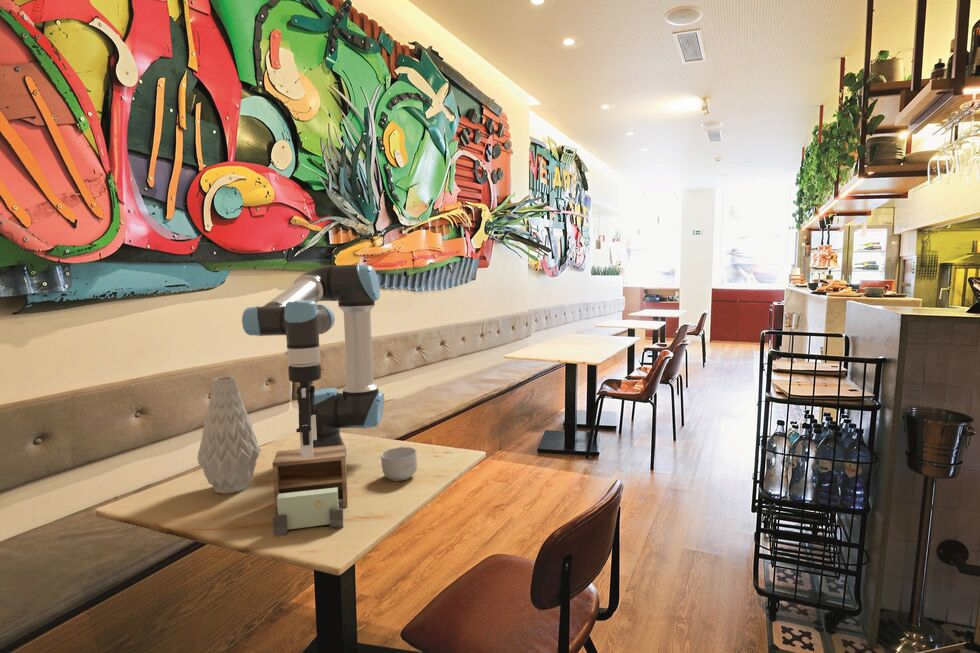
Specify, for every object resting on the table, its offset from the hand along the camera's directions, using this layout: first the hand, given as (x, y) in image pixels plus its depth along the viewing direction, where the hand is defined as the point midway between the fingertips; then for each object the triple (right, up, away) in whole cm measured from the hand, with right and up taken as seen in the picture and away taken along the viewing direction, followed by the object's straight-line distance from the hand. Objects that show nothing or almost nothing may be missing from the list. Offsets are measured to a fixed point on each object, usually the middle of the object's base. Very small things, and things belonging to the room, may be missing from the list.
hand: (309, 448), depth 138 cm
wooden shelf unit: (-2, -18, +7) cm, 20 cm away
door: (0, -19, -1) cm, 19 cm away
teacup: (+18, -16, +33) cm, 40 cm away
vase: (-31, -17, +25) cm, 44 cm away
